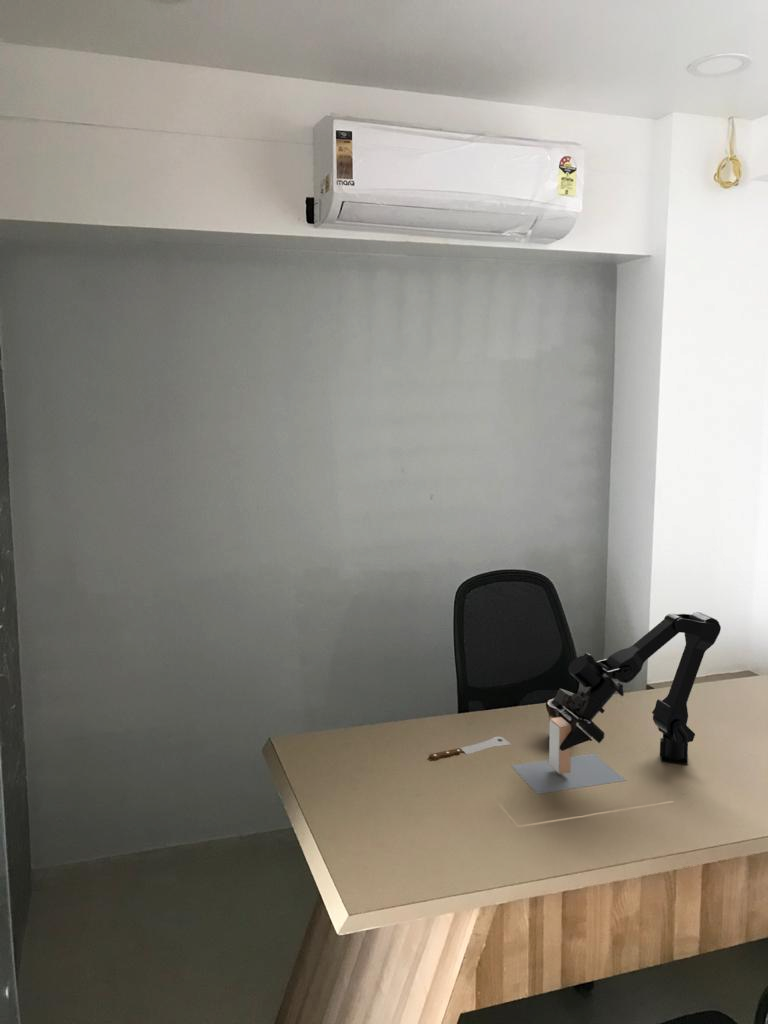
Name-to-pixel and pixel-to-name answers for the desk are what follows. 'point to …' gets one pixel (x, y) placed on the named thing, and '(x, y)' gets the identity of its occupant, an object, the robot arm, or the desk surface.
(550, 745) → the tall peach block
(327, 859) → the desk surface
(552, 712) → the coffee mug
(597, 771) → the felt mat
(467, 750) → the kitchen cleaver
